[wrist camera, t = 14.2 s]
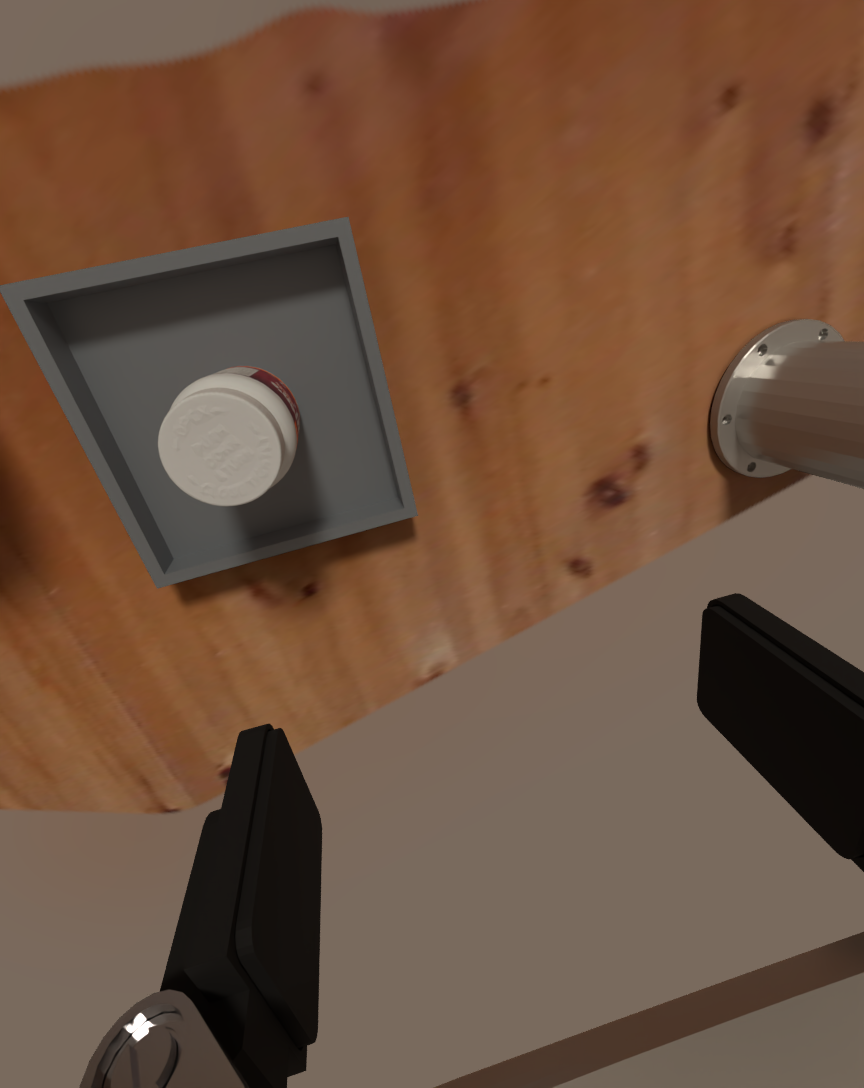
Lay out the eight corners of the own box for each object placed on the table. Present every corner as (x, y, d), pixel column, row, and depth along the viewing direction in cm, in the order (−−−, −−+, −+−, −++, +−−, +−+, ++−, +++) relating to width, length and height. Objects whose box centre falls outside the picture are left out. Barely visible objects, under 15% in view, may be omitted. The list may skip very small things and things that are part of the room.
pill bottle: (313, 445, 33) (315, 495, 23) (225, 473, 32) (185, 536, 22) (279, 352, 30) (263, 361, 20) (181, 380, 30) (115, 404, 20)
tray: (344, 227, 29) (348, 216, 26) (409, 501, 37) (417, 515, 34) (29, 290, 27) (-3, 286, 24) (169, 568, 35) (157, 588, 32)
